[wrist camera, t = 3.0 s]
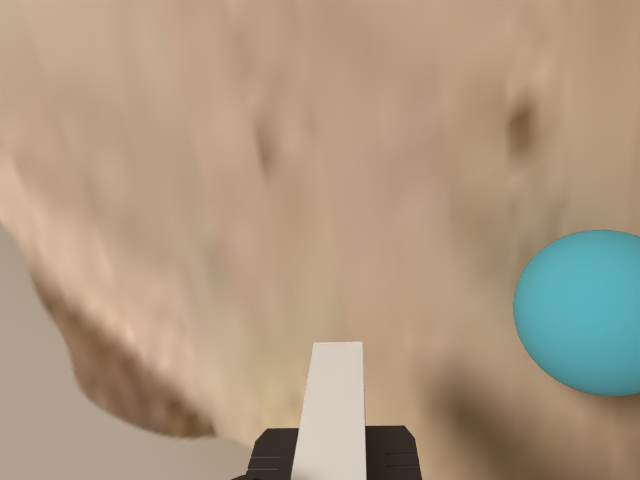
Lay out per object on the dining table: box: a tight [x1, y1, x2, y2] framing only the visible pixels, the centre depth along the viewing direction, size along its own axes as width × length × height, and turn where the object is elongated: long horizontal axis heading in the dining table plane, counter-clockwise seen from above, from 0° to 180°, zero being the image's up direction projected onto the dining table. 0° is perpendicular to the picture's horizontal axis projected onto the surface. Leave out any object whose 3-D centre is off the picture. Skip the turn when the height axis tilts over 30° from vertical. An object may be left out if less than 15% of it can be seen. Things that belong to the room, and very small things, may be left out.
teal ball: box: [513, 230, 640, 396], centre depth 19 cm, size 6×6×6 cm
